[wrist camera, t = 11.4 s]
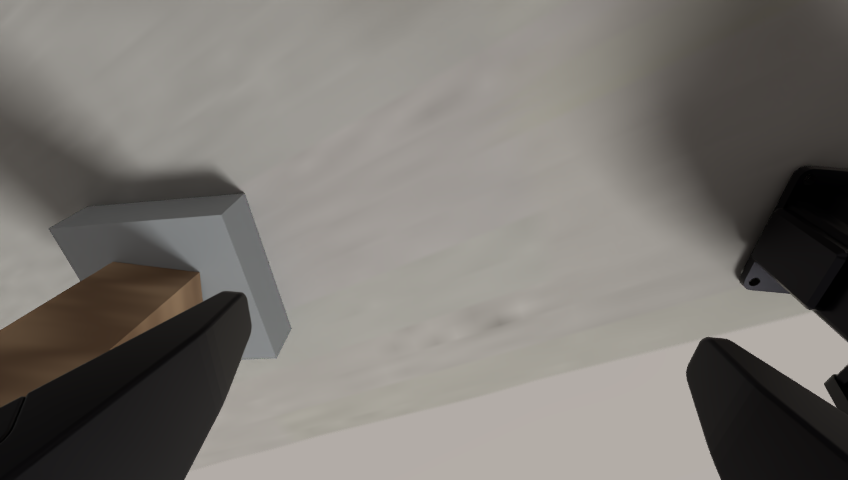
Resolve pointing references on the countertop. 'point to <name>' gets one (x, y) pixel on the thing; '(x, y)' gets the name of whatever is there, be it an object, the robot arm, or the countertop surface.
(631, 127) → the countertop surface
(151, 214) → the grey base block
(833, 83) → the countertop surface
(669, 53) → the countertop surface
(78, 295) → the walnut block
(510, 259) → the countertop surface
